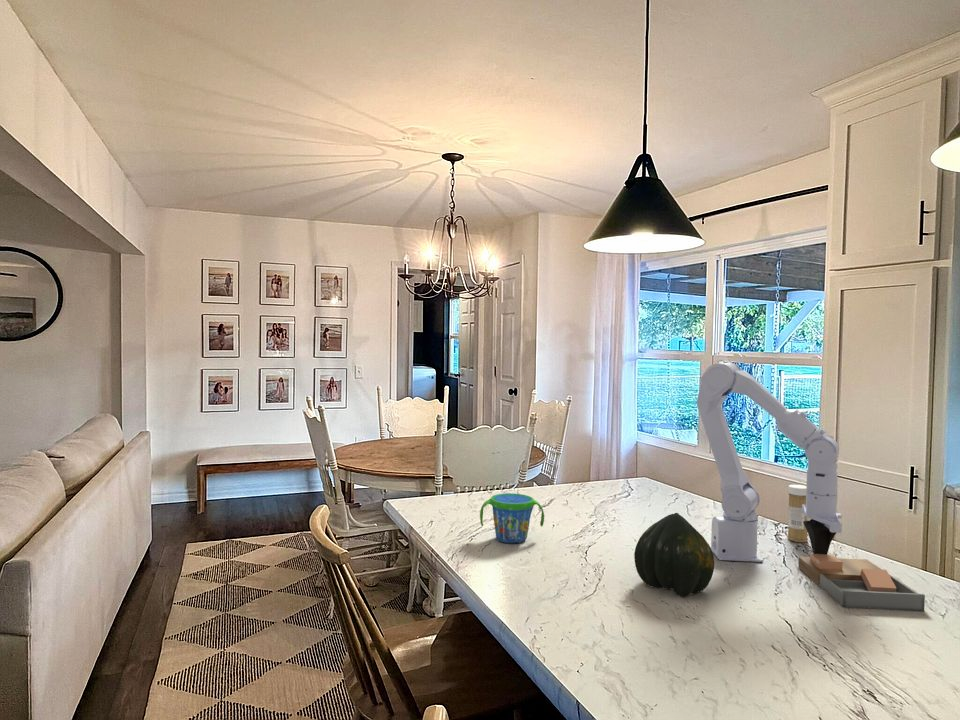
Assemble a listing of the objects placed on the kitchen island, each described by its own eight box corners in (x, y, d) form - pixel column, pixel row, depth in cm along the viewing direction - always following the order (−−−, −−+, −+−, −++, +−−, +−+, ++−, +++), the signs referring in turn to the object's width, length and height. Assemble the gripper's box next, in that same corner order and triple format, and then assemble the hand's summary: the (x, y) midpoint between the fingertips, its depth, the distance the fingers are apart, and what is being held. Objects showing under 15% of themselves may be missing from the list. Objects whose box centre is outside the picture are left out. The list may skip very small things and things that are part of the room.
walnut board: (818, 585, 127) (818, 573, 126) (798, 567, 136) (798, 556, 136) (892, 588, 125) (892, 576, 125) (866, 570, 135) (867, 559, 135)
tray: (843, 607, 116) (843, 591, 116) (819, 586, 126) (819, 571, 126) (924, 611, 115) (924, 594, 115) (893, 589, 125) (894, 574, 125)
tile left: (819, 568, 129) (819, 561, 129) (809, 561, 134) (810, 553, 134) (842, 569, 129) (842, 562, 129) (832, 562, 133) (832, 554, 133)
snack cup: (543, 534, 158) (543, 493, 158) (544, 547, 148) (545, 504, 147) (480, 532, 159) (481, 492, 159) (478, 545, 149) (478, 502, 148)
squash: (662, 581, 113) (702, 512, 118) (609, 559, 126) (646, 497, 131) (705, 623, 118) (742, 555, 123) (649, 597, 131) (684, 536, 136)
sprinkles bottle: (811, 541, 155) (813, 486, 155) (801, 544, 152) (802, 488, 152) (793, 536, 159) (794, 483, 158) (783, 539, 156) (784, 485, 156)
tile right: (869, 592, 122) (871, 586, 121) (860, 574, 126) (862, 568, 125) (894, 594, 122) (896, 588, 121) (884, 575, 125) (886, 569, 125)
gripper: (858, 502, 126) (856, 569, 127) (825, 485, 141) (824, 546, 141) (821, 500, 127) (819, 567, 127) (792, 484, 141) (791, 544, 142)
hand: (819, 556), depth 134 cm, fingers closed
